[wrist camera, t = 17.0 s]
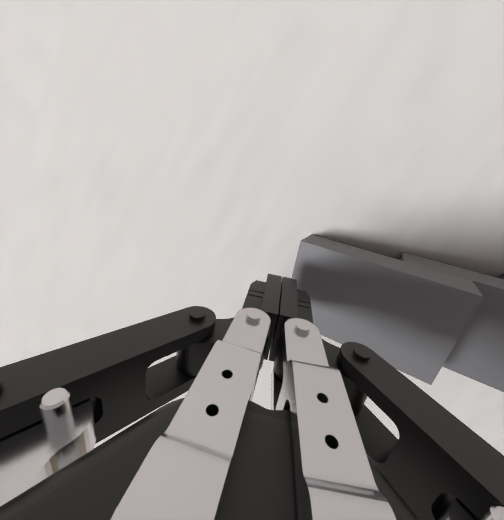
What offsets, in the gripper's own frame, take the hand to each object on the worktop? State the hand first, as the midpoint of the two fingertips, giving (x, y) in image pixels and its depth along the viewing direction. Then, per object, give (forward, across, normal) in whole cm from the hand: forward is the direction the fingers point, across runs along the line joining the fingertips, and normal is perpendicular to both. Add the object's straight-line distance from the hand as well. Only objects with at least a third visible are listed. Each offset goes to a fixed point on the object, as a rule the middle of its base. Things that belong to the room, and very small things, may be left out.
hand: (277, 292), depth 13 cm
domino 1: (+3, -1, 0) cm, 3 cm away
